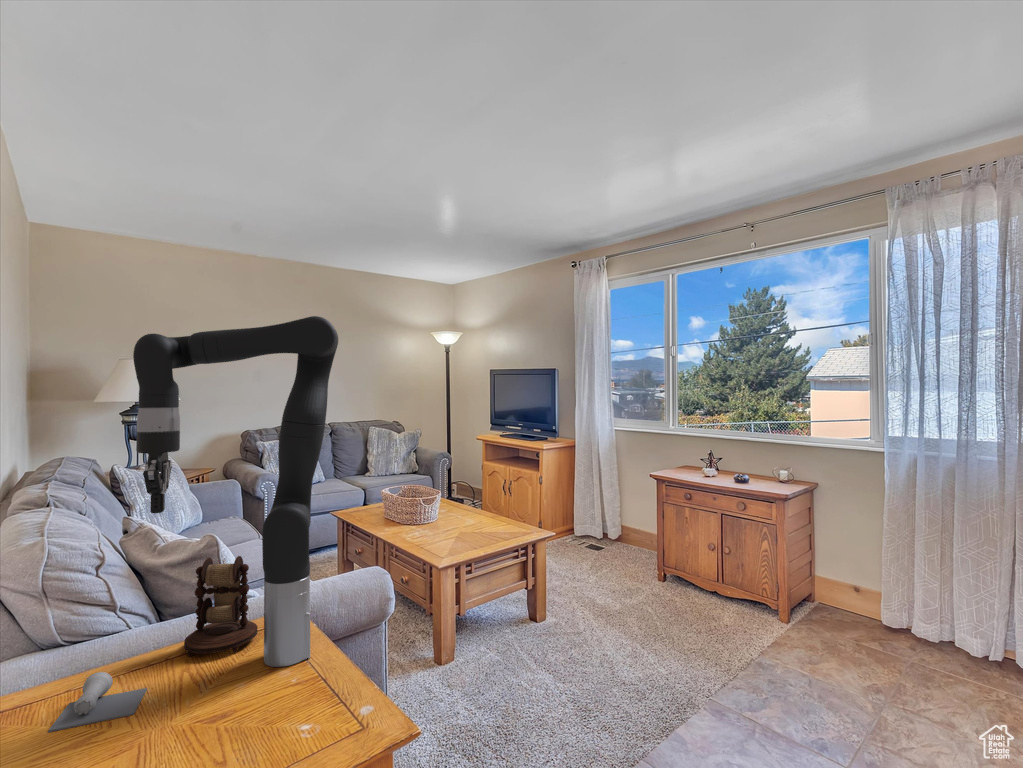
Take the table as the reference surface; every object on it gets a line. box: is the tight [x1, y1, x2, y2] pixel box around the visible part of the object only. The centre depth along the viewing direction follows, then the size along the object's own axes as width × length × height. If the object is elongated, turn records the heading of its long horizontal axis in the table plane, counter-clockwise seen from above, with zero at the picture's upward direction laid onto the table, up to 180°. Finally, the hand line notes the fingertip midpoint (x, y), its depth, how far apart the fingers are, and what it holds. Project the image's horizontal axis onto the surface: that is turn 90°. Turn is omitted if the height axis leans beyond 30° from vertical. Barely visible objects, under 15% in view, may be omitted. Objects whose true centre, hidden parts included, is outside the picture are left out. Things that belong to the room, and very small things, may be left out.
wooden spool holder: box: [183, 555, 258, 657], centre depth 119 cm, size 15×15×20 cm
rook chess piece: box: [74, 671, 113, 715], centre depth 94 cm, size 4×4×8 cm
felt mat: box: [47, 687, 148, 733], centre depth 93 cm, size 12×9×1 cm
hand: (157, 512), depth 107 cm, fingers closed
